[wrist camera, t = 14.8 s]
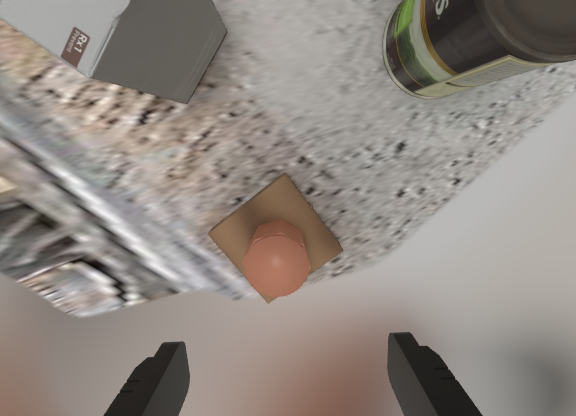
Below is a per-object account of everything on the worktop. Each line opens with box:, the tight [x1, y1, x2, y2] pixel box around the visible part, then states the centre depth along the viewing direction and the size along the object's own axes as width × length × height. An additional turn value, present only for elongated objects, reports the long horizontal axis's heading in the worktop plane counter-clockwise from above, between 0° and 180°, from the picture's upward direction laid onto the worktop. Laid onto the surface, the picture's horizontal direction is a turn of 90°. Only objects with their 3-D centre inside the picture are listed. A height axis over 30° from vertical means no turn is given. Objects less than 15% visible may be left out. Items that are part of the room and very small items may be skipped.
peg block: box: [208, 173, 343, 303], centre depth 28 cm, size 10×10×6 cm
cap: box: [242, 219, 311, 297], centre depth 27 cm, size 6×6×5 cm
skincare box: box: [0, 0, 227, 104], centre depth 20 cm, size 8×7×16 cm
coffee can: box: [383, 0, 576, 99], centre depth 21 cm, size 10×10×14 cm
